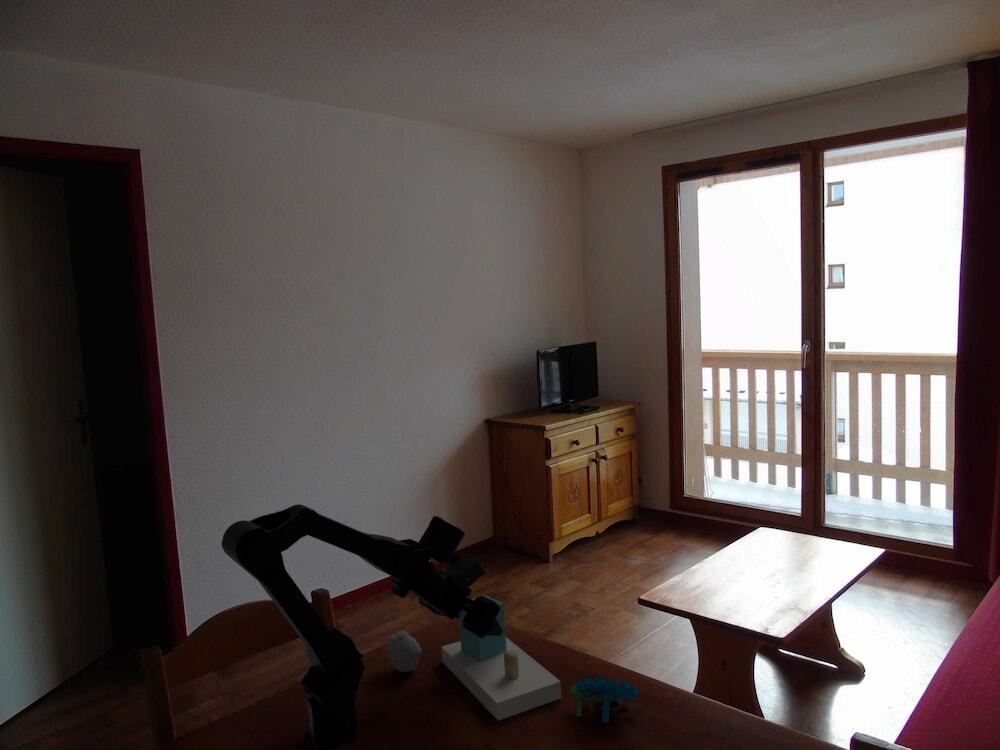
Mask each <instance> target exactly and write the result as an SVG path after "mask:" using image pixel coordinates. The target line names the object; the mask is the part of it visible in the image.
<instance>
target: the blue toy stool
mask: <svg viewBox="0 0 1000 750" xmlns="http://www.w3.org/2000/svg"><path fill="white" fill-rule="evenodd" d="M569 694H570V695H574V701H575V702H577V703H576V717H577V718H581V717H582V707H583V703H590V704H593V703H595V704H602V718H601V722H602V724H609V722H610V720H609V719H610V706H611V705H610V704H611V703H612V702H614V703H618V702H620V700H622V701H624V702H631V700H632V699H635V700H638V695H639V688H638V687H636V686H632V684H631V683H629V682H626V681H623V682H622V683H621V684H618V679H617V678H609V679H608V681H606V680H604V679H603V677H602V676H601V677H600V676H596V677H593V679H591V678H588V677H584V678H582V681H581V680H577V681H576V684H570V689H569ZM593 695H594V696H593Z"/></svg>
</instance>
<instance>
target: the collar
mask: <svg viewBox="0 0 1000 750" xmlns="http://www.w3.org/2000/svg"><path fill="white" fill-rule="evenodd" d="M480 596H484V597H486V598H488V599H491V600H493V601H494V602H496V603H497V604H498V605H500V611H499V613H498V615H497V616H496V620H497V621H498V623H499V625H500V626H501V628H502V630H503V632H502V634H501V636H485V637H483V638H482V639H481V638H479V637H478V636H476V635H474V634H472V633H471V632H469V631H467V630H466V629H465V628H463V619H464V617H465V616H466V614H467V612H465V611H463V610H461V611H460V612H459V619H458V621H459V636H460V639H459V640H460V641H461V651H462V652H464V653H466V654H468V655H469V656H471V657H473V658H474V659H476V660H478V661H480V662H482V661H484V660H487V659H489V658H491V657H493V656H496V655H498V654H500V653H503V652H505V651H507V649H506V635H507V634H506V633H507V632H506V620H505V619H506V618H505V604H504V603H503V602H502V601H499V600H497V599H495V598H493V597H490V596H488V595H486V594H481V595H480ZM475 598H476V597H473V598H470V599H471V600H473V601H474V600H475ZM466 605H468V604H466ZM468 606H470V605H468ZM470 607H471V606H470Z"/></svg>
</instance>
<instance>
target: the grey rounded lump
mask: <svg viewBox="0 0 1000 750" xmlns="http://www.w3.org/2000/svg"><path fill="white" fill-rule="evenodd" d="M385 650H386V653H387V655H388V659H389V660H390V661H391V664H392V666H393V667H394V668H395V669H396V670H397V671H398V672H401V673H410V672H412V671H413V670H414V669H416V667H417V666H418V664H419V663H420V662H419V661H420V658H421V657H422V648H421V645H420V644H419V643H418V641H417V640H416V639H415V638H414V637H413V636H411V635H410V634H408V632H407V631H406V630H401V631H399V632H396V633H394V634H393V635H391V636H390V637H389V638H387V641H386V646H385Z"/></svg>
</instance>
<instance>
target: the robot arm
mask: <svg viewBox="0 0 1000 750" xmlns="http://www.w3.org/2000/svg"><path fill="white" fill-rule="evenodd" d="M306 536H309V537H311V538H314V539H317V540H319V541H321V542H324V543H326V544H329V545H331V546H334V547H337V548H339V549H341V550H344V551H345V552H348V553H351V554H353V555H356V556H358V557H359V558H361V559H362V560H363V561H365V562H366V563H367V564H369V566H370V565H371V566H372V567H373V568H375V569H376V570H377V571H380V572H382V573H383V574H386V575H387V576H390V577H392V578H393V579H392V580H391V583H392V586H391V593H392V594H394V595H396V596H397V597H399V598H401V599H405V598H406V597H407V595H408V593H409V592H411V593H412V594H414V595H415V596H416V597H418V604H419V605H420V606H422V607H423V608H424V609H426V610H428V611H430V612H432V613H434V614H436V615H438V616H443V617H446V618H448V619H449V620H452V621H453V620H454V619H458V620H459V612H460V611H461V610H463V611H465V612H467V614H466V616H465V617H464V619H463V628H465V629H466V630H467V631H469V632H471V633H472V634H474V635H476V636H478V637H479V638H481V639H482V638H483V637H485V636H501V634H502V632H503V630H502V628H501V626H500V625H499V623H498V621H497V620H496V616H497V615H498V613H499V611H500V605H498V604H497V603H496V602H494V601H493V600H491V599H488V598H486V597H484V596H481V595H479V596H477V597H474V598H475V600H474V601H473V600H471V599H472V598H469V596H470V595H471V593H472V591H473V590H472V589H471V588H470V587H471V586H472V585H474V583H476V582H477V580H478V579H479V578H481V577H483V576H484V575H485V574H486V570H485V568H484V566H483V564H482V562H481V561H480V558H479V557H478V556H476V555H474V554H473V555H472V554H470V553H467V552H466V553H463V552H460V553H459V554H460V555H458V554H457V553H456V551H457V550H458V548H459V546H460V545H461V543H462V541H463V540H464V538H465V537H466V533H465V532H464V531H463V530H462V529H461V528H459V526H458V527H457V526H455V525H453V524H451V523H450V522H448V521H446V520H445V519H443V518H442V517H441V516H440V517H439V516H437V515H433V516H432V517H431V520H430V521H429V524H428V526H427V527H426V530H425V531H424V533H423V534H422V536H421V537H420V539H419V540H418V541H417V540H414V539H412V538H408V539H407V538H406V539H396V538H394V537H390V536H387V535H380V534H374V533H366V532H362V531H360V530H358V529H355V528H354V527H351V526H348V525H347V524H344V523H342V522H339V521H337V520H335V519H332V518H330V517H328V516H326V515H323V514H320V513H318V512H317V511H316V510H314V509H313V508H311V507H309V506H306V505H303V504H300V503H299V504H293V505H291V506H289V507H286V508H284V509H282V510H279V511H275V512H272V513H268V514H264V515H260V516H258V517H255V518H252V519H251V520H243V519H242V520H237V521H236V522H234V523H231V524H230V525H229V526H228V527H227V528H226V530H225V531H224V533H223V535H222V539H221V544H220V545H221V548H222V550H223V552H224V553H225V554H226V555H227V556H228V557H229V558H230V559H232V561H233V562H235V564H237V565H238V566H239V567H240V568H242V569H243V570H244V571H245V572H247V573H248V575H250V576H252V577H253V578H254V579H255V580H256V581H257V582H258V583H259V584H260V586H261V587H262V588H263V590H264V591H265V593H267V594H266V595H268V596H269V598H270V599H271V600H272V602H273V603H274V605H275V606H276V608H278V610H279V611H280V613H281V614H282V615H283V617H284V618H285V619H286V620H287V622H288V623H289V625H290V626H291V627H292V629H293V630H294V631H295V633H296V634H297V636H298V637H299V638H300V639H301V641H302V642H303V643H304V645H305V649H306V653H307V657H308V660H309V662H310V664H311V666H310V667H309V668H308V670H307V672H306V673H305V675H304V676H303V677H302V680H300V683H299V684H300V686H301V688H302V690H303V692H304V694H306V695H308V696H309V698H307V708H308V720H309V727H307V732H308V735H309V737H310V739H311V742H312V744H313V745H314V749H315V750H324V749H327V748H331V747H333V746H336V745H339V744H342V743H345V742H348V741H351V740H354V739H357V738H358V733H357V731H356V728H357V727H358V722H357V709H356V702H355V701H356V698H357V693H358V688H359V685H360V684H359V683H360V682H361V679H362V678H363V674H364V671H365V663H364V662H363V660H362V658H364V657H365V654H363V653H362V652H360V651H359V650H358V649H357V647H356V645H355V642H354V641H353V639H352V638H351V637H350V636H349V635H347V634H345V633H344V632H343V631H342V630H340V629H338V628H337V627H336V626H334V627H333V628H332V629H331V630H329V628H328V627H327V625H326V623H324V621H323V620H322V618H321V617H320V615H319V614H318V613H317V611H316V610H315V609H314V607H313V606H312V605H311V603H310V602H309V600H308V599H307V597H306V596H305V595H304V594H303V592H302V590H301V589H300V587H299V586H298V585H297V584H296V582H295V580H294V579H293V578H292V577H291V575H290V573H289V572H288V571H287V570H286V566H285V563H284V562H285V561H284V556H283V552H285V551H287V550H289V549H290V548H291V547H292V546H293V545H294V544H296V543H297V542H298V541H300V540H301V539H302V538H304V537H306ZM430 561H431V562H432V563H431V562H430ZM433 563H435V564H437V565H440V566H441V565H442V563H444V564H445V567H446V570H445V571H443V570H441V569H439V568H438V567H436V566H435V565H434V564H433ZM466 604H468V605H470V606H471V607H470V606H468V605H466Z"/></svg>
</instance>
